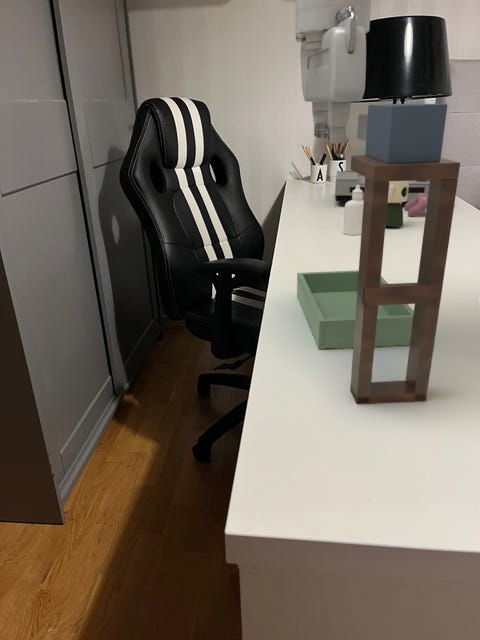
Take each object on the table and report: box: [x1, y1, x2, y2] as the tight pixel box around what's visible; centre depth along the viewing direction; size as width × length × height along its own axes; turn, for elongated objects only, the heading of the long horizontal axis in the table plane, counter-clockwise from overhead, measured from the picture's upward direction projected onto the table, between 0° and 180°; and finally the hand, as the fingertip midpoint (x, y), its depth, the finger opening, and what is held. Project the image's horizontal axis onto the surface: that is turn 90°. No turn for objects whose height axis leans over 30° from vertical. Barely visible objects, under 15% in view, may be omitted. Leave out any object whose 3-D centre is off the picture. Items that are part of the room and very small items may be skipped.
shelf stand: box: [349, 154, 461, 405], centre depth 55 cm, size 8×9×26 cm
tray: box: [296, 269, 414, 350], centre depth 78 cm, size 14×21×4 cm, turn 2°
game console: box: [334, 170, 430, 208], centre depth 162 cm, size 21×32×8 cm, turn 79°
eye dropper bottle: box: [342, 185, 364, 236], centre depth 124 cm, size 4×6×12 cm
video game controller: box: [403, 193, 428, 218], centre depth 144 cm, size 10×5×7 cm, turn 170°
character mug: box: [385, 181, 409, 228], centre depth 130 cm, size 11×7×13 cm, turn 157°
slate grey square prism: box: [356, 103, 448, 164], centre depth 53 cm, size 5×16×5 cm, turn 2°
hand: (328, 140), depth 65 cm, fingers open, 8 cm apart
